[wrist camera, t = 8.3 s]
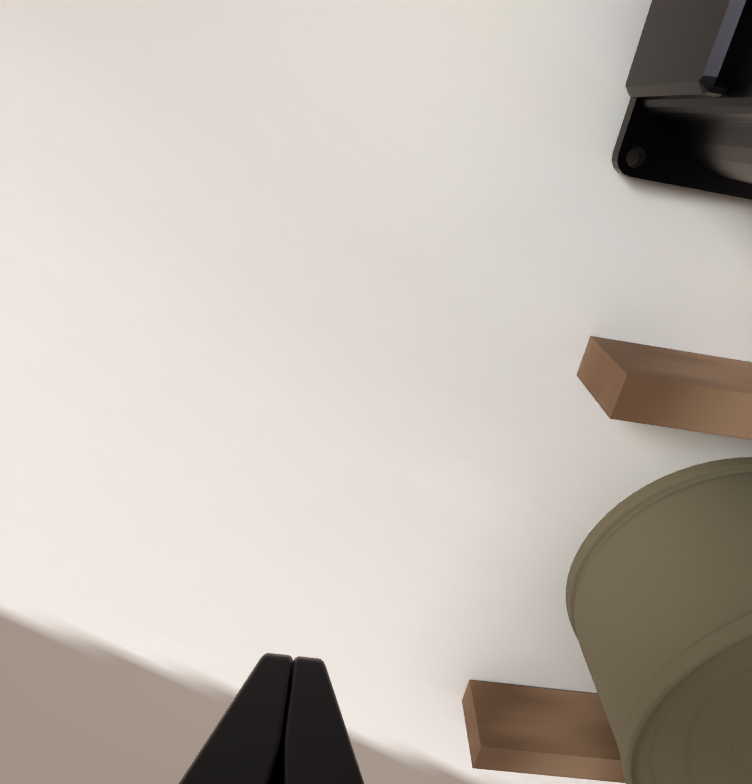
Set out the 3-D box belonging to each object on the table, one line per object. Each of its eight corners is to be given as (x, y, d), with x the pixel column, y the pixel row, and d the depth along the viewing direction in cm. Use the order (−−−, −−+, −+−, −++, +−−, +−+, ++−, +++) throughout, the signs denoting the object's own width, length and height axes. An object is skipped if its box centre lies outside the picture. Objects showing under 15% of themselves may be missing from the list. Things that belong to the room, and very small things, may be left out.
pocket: (1018, 405, 20) (1160, 471, 16) (777, 734, 28) (838, 827, 24) (590, 336, 19) (642, 390, 15) (462, 700, 26) (476, 794, 23)
